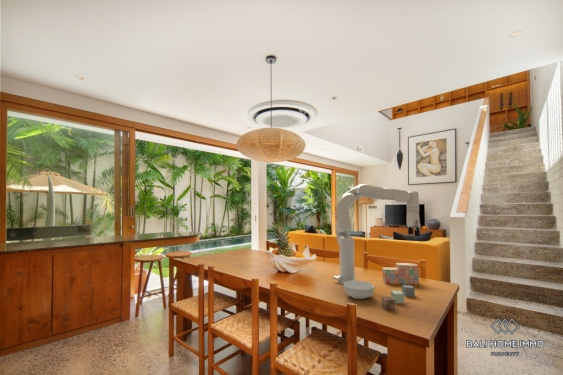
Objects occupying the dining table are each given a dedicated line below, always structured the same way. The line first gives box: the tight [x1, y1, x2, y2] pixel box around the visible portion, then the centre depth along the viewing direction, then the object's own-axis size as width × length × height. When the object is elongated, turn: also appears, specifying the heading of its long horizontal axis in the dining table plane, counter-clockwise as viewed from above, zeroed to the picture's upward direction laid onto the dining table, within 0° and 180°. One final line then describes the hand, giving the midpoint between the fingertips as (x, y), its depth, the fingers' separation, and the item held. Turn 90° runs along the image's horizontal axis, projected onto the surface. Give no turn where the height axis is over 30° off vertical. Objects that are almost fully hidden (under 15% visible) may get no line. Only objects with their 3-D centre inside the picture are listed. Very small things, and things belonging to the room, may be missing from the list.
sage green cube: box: [390, 290, 405, 304], centre depth 144 cm, size 5×5×5 cm
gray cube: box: [401, 284, 416, 298], centre depth 154 cm, size 5×5×5 cm
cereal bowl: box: [343, 279, 375, 300], centre depth 152 cm, size 17×17×7 cm
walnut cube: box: [381, 296, 396, 311], centre depth 136 cm, size 5×5×5 cm
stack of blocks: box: [381, 262, 420, 285], centre depth 178 cm, size 21×6×12 cm, turn 84°
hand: (413, 235), depth 179 cm, fingers open, 9 cm apart
